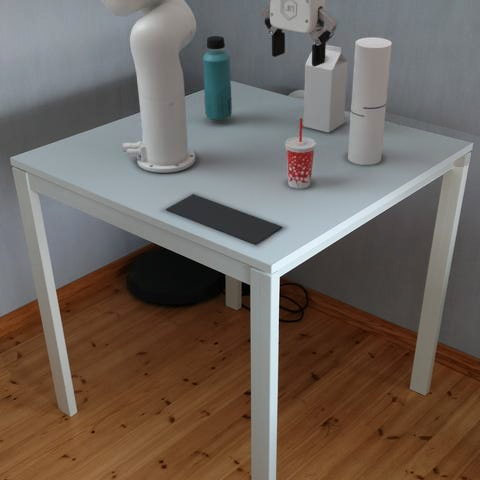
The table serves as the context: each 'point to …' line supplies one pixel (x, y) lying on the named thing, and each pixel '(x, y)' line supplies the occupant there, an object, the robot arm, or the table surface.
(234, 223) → the mat
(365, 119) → the cylindrical container
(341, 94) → the milk carton
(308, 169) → the beverage cup
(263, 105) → the table surface
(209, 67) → the beverage bottle
